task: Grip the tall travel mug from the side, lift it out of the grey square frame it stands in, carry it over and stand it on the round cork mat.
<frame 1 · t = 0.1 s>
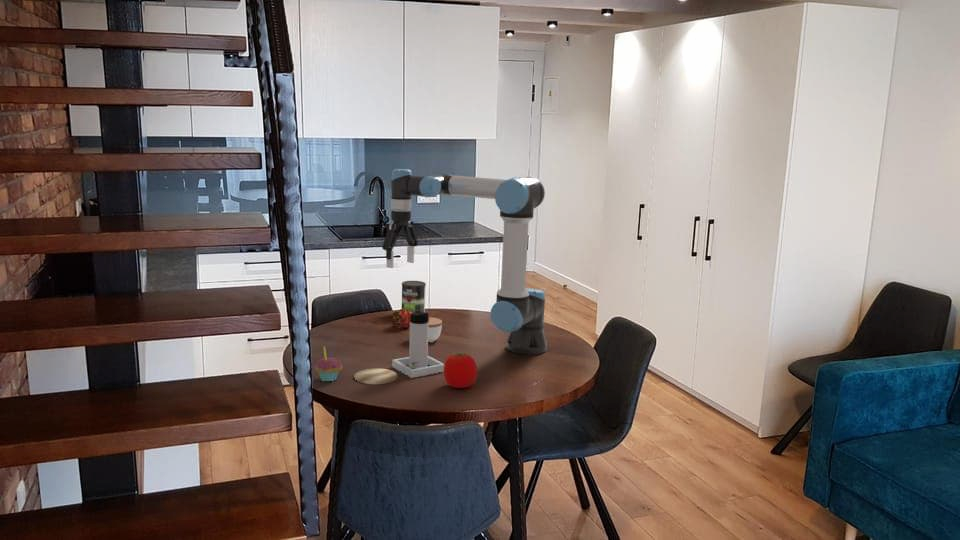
hand: (400, 265, 284), 28 cm above the table, tool pointing down, fingers open, 13 cm apart
mat: (375, 376, 242), on the table
lidded jar: (427, 340, 284), on the table
tomato: (459, 386, 236), on the table
travel mug: (418, 369, 251), resting in grey square frame
grey square frame: (418, 369, 251), on the table
cupcake: (328, 379, 238), on the table
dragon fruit: (402, 327, 300), on the table
coffee can: (413, 315, 320), on the table
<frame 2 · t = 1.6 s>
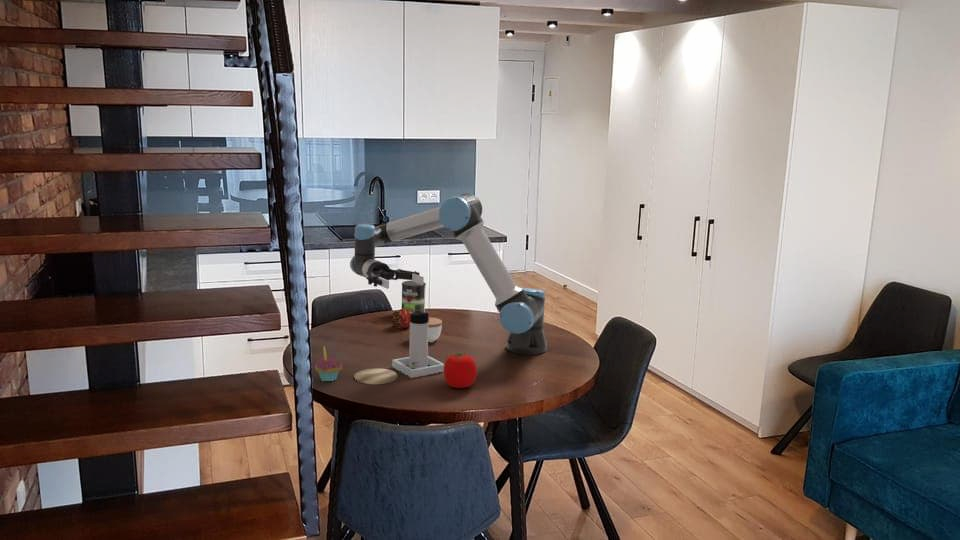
hand: (405, 282, 253), 28 cm above the table, tool horizontal, fingers open, 13 cm apart
nothing on the table moved.
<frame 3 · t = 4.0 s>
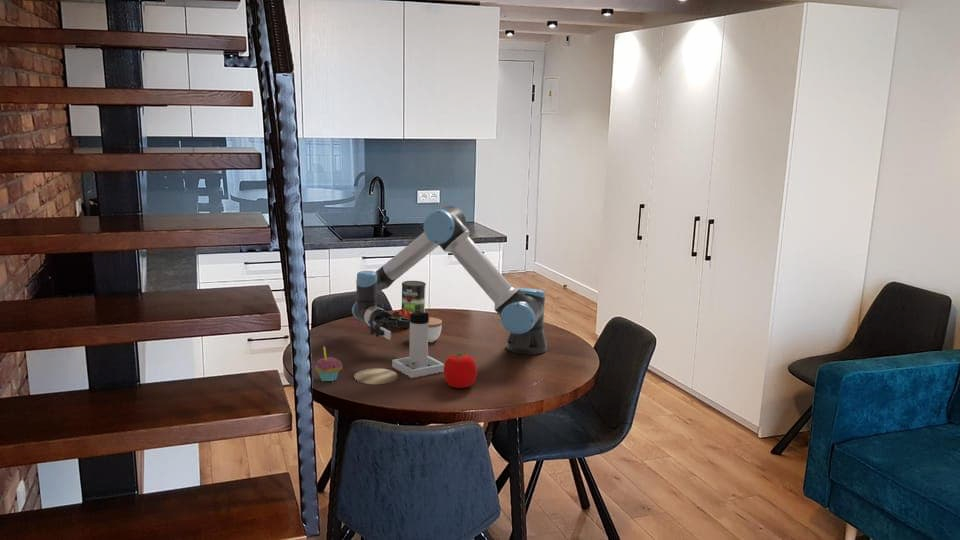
hand: (407, 333, 254), 11 cm above the table, tool horizontal, fingers open, 13 cm apart
nothing on the table moved.
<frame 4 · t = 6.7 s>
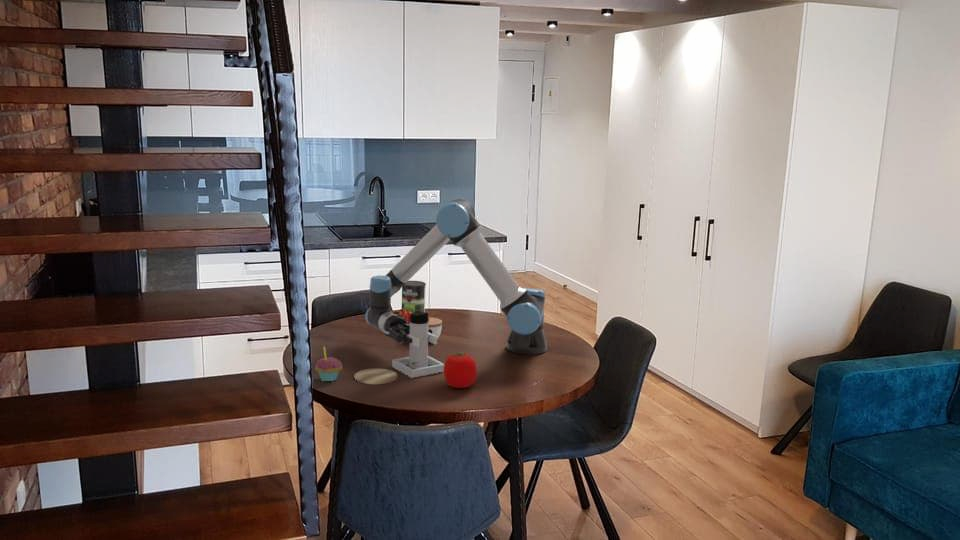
hand: (427, 341, 244), 11 cm above the table, tool horizontal, fingers closed on travel mug, 6 cm apart
travel mug: (418, 369, 251), resting in grey square frame, touching gripper
everything else where it was.
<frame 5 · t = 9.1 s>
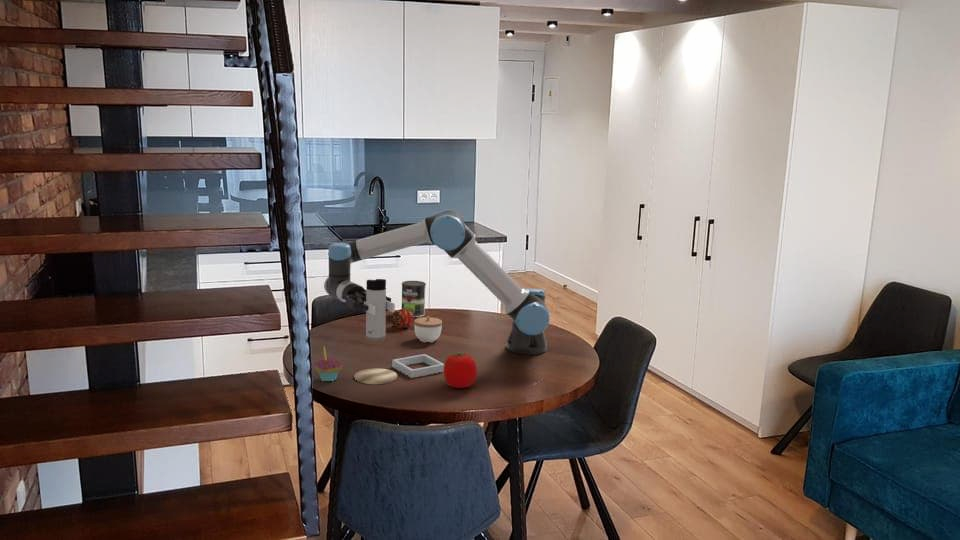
hand: (384, 309, 233), 24 cm above the table, tool horizontal, fingers closed on travel mug, 6 cm apart
travel mug: (375, 339, 239), point 13 cm above the table, touching gripper
everything else where it was.
when the fingers open (12 cm above the table, at t = 11.5 s): travel mug stays where it is, resting on mat.
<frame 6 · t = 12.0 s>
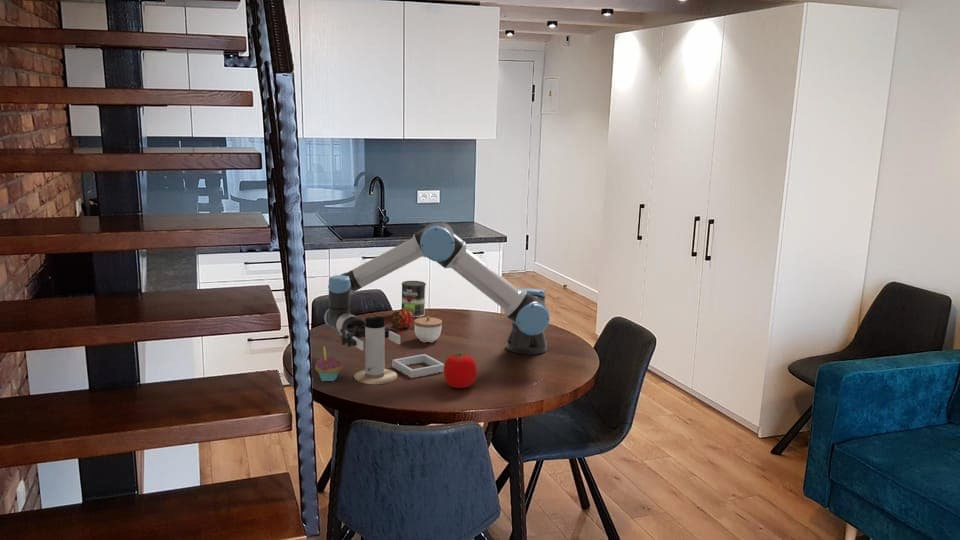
hand: (381, 343, 236), 12 cm above the table, tool horizontal, fingers open, 13 cm apart
travel mug: (375, 375, 241), resting on mat
everything else where it was.
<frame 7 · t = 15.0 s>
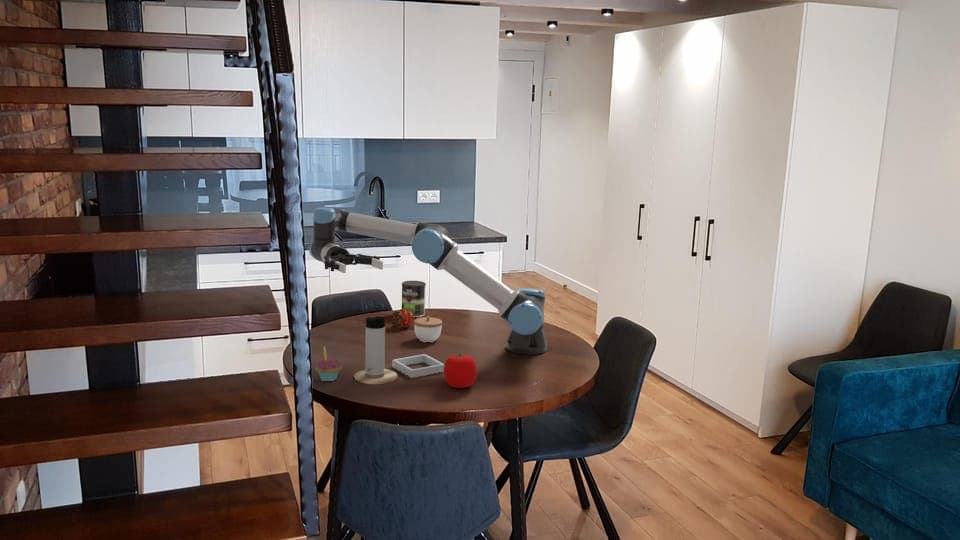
hand: (363, 267, 243), 35 cm above the table, tool horizontal, fingers open, 13 cm apart
nothing on the table moved.
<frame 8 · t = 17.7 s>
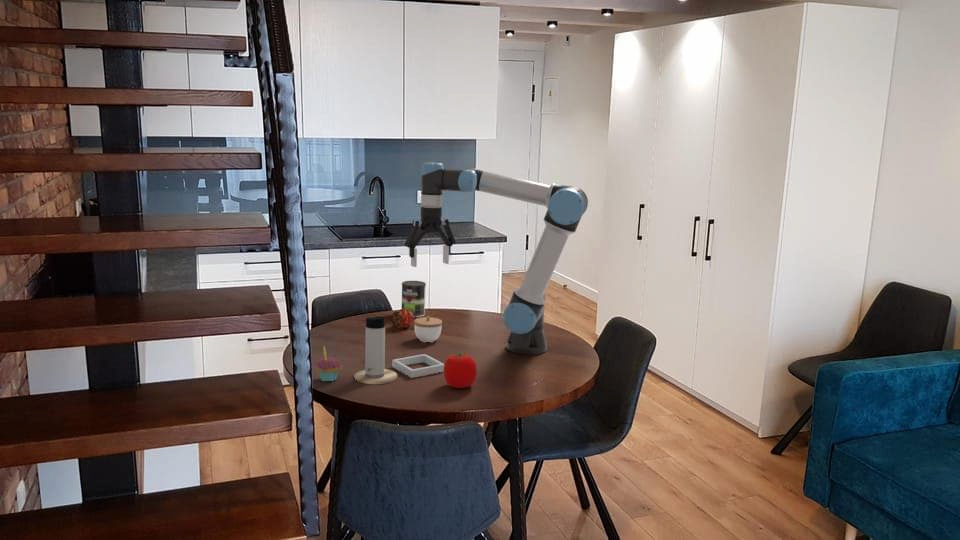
hand: (429, 264, 267), 32 cm above the table, tool pointing down, fingers open, 13 cm apart
nothing on the table moved.
at the end: travel mug 0.3 cm from the mat (horizontally); travel mug tilted 0°; the gripper is holding nothing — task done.
